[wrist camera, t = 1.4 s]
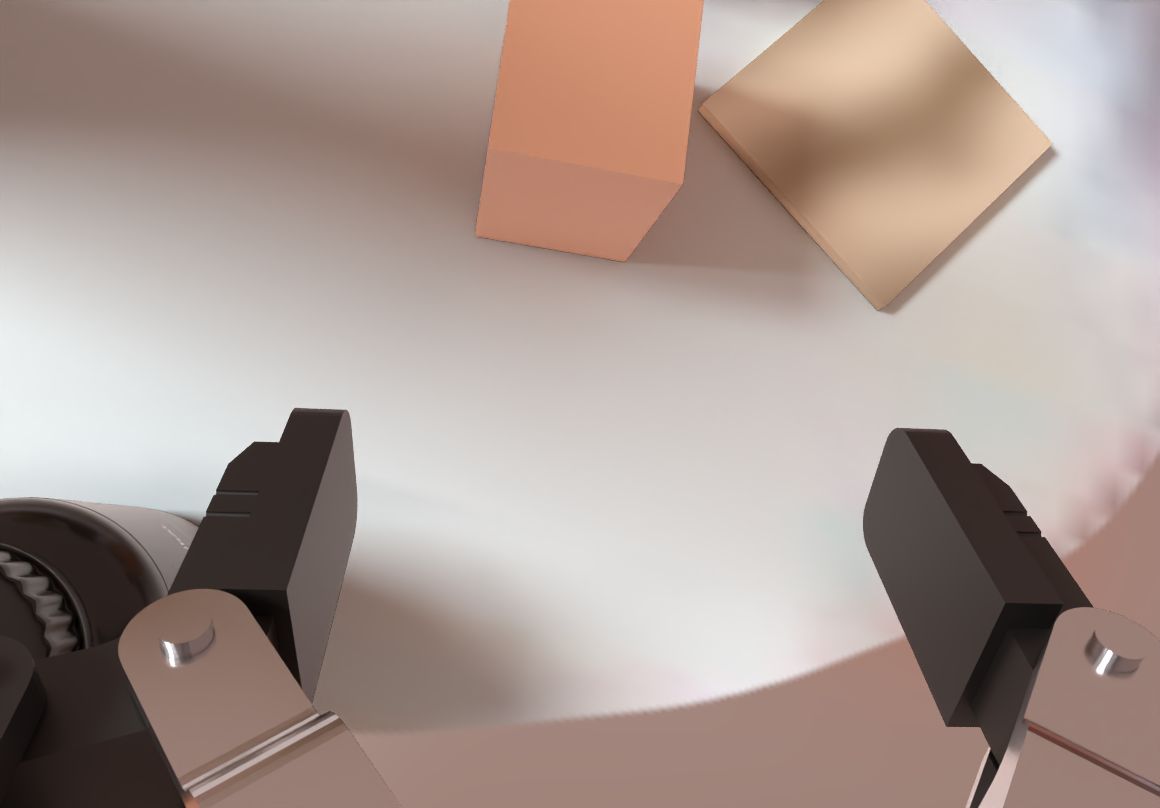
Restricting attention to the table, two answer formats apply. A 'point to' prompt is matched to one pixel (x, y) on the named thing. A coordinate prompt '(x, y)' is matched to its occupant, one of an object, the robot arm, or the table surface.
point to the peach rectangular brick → (589, 122)
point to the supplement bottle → (82, 569)
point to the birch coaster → (876, 135)
